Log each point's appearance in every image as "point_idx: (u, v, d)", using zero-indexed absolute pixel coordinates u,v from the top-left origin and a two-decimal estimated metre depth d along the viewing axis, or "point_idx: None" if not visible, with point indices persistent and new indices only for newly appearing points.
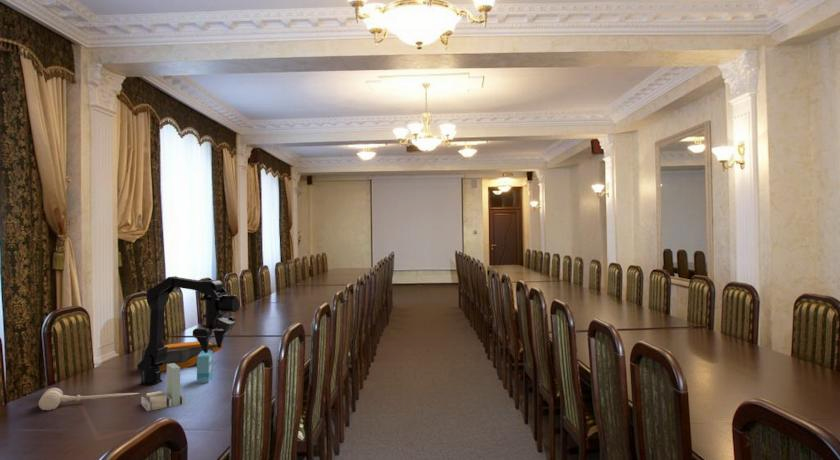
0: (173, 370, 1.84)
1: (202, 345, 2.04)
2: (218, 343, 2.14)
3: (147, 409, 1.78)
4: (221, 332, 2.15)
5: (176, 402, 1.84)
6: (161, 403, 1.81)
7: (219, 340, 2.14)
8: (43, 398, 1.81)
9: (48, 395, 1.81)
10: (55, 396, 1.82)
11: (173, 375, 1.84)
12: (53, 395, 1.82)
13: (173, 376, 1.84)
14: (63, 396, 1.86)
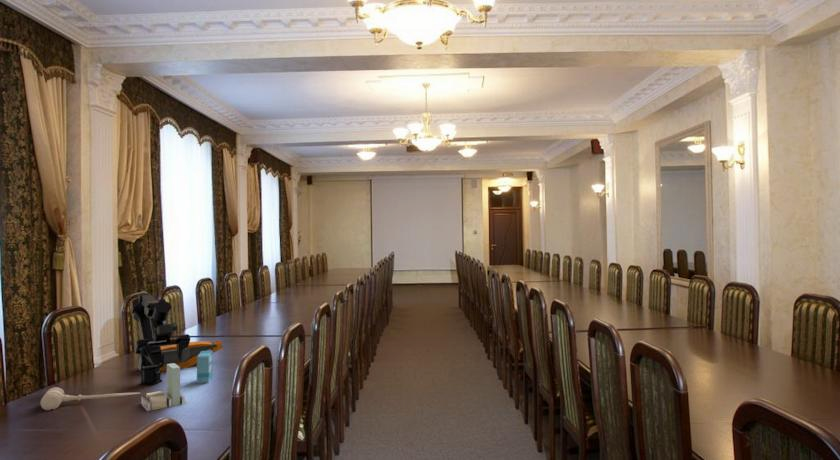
0: (173, 370, 1.84)
1: (148, 359, 1.93)
2: (178, 356, 1.99)
3: (147, 409, 1.78)
4: (178, 345, 2.01)
5: (176, 402, 1.84)
6: (161, 403, 1.81)
7: (178, 353, 1.99)
8: (45, 398, 1.81)
9: (50, 395, 1.82)
10: (57, 396, 1.83)
11: (173, 375, 1.84)
12: (55, 395, 1.82)
13: (173, 376, 1.84)
14: (65, 396, 1.87)
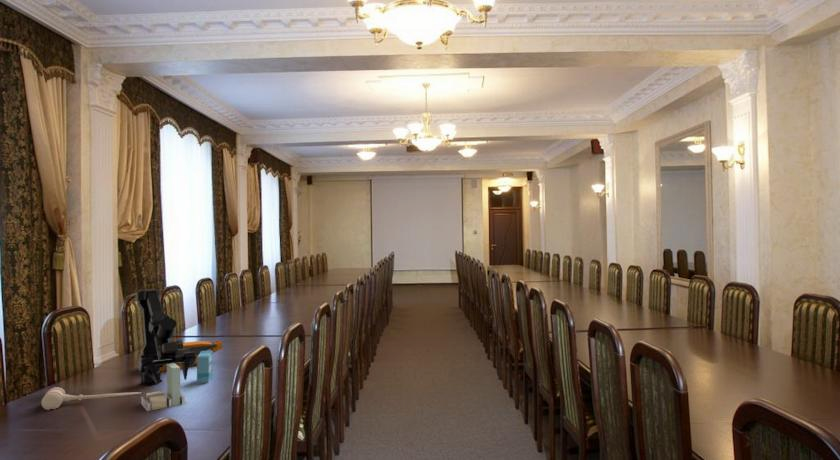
0: (173, 370, 1.84)
1: (153, 378, 1.87)
2: (184, 375, 1.93)
3: (147, 409, 1.78)
4: (184, 363, 1.95)
5: (176, 402, 1.84)
6: (161, 403, 1.81)
7: (184, 372, 1.93)
8: (46, 397, 1.81)
9: (51, 394, 1.82)
10: (58, 395, 1.83)
11: (173, 375, 1.84)
12: (56, 394, 1.83)
13: (173, 376, 1.84)
14: (65, 395, 1.87)
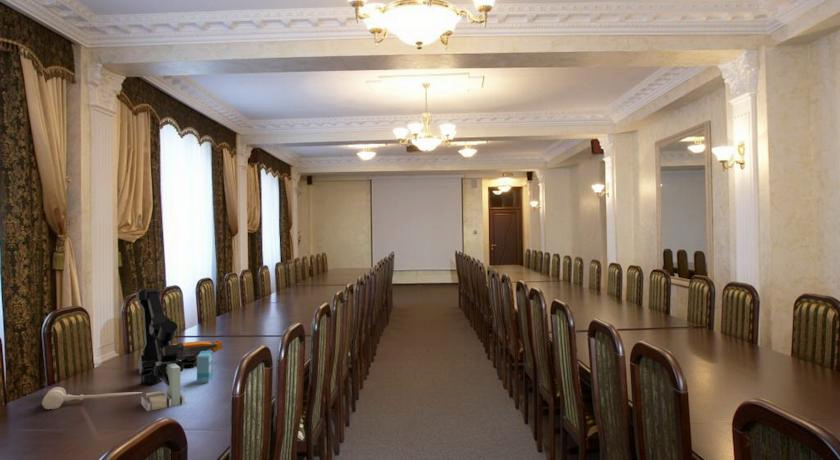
0: (173, 370, 1.84)
1: (163, 379, 1.89)
2: None
3: (147, 409, 1.78)
4: None
5: (176, 402, 1.84)
6: (161, 403, 1.81)
7: None
8: (47, 397, 1.81)
9: (52, 394, 1.82)
10: (58, 395, 1.83)
11: (173, 375, 1.84)
12: (56, 394, 1.83)
13: (173, 376, 1.84)
14: (66, 395, 1.87)
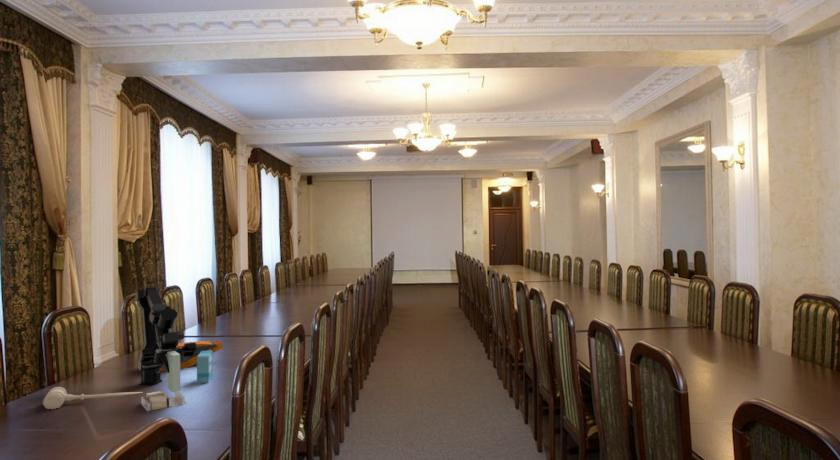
0: (173, 357, 1.84)
1: (163, 367, 1.89)
2: None
3: (147, 409, 1.78)
4: None
5: (176, 389, 1.84)
6: (161, 403, 1.81)
7: None
8: (47, 397, 1.82)
9: (52, 394, 1.82)
10: (59, 395, 1.83)
11: (173, 362, 1.84)
12: (57, 394, 1.83)
13: (173, 363, 1.84)
14: (67, 395, 1.88)
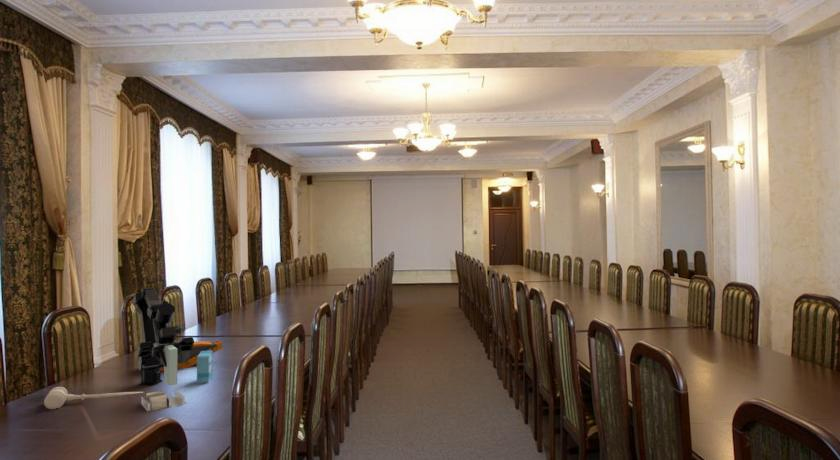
0: (170, 351, 1.87)
1: (161, 361, 1.91)
2: None
3: (147, 409, 1.78)
4: None
5: (173, 382, 1.87)
6: (161, 403, 1.81)
7: None
8: (48, 397, 1.82)
9: (53, 394, 1.83)
10: (60, 395, 1.84)
11: (170, 356, 1.87)
12: (58, 394, 1.83)
13: (170, 357, 1.87)
14: (68, 395, 1.88)
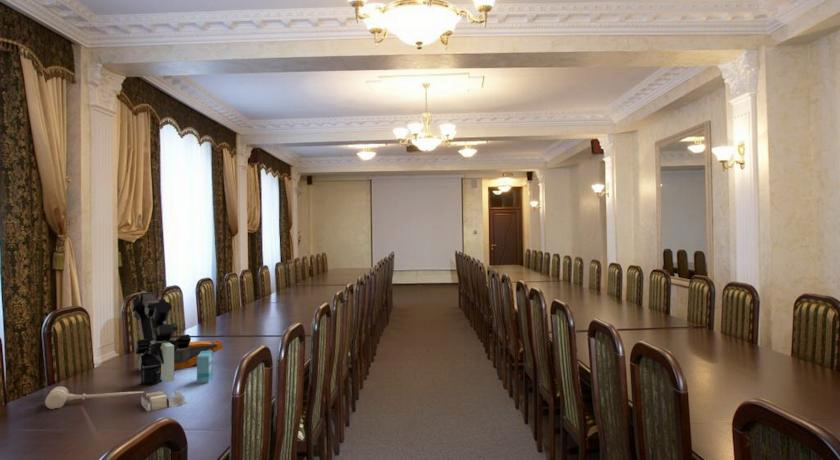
0: (167, 348, 1.90)
1: (158, 358, 1.95)
2: None
3: (147, 409, 1.78)
4: None
5: (170, 379, 1.91)
6: (161, 403, 1.81)
7: None
8: (49, 397, 1.82)
9: (54, 394, 1.83)
10: (61, 395, 1.84)
11: (167, 353, 1.90)
12: (59, 394, 1.84)
13: (167, 354, 1.90)
14: (69, 395, 1.88)
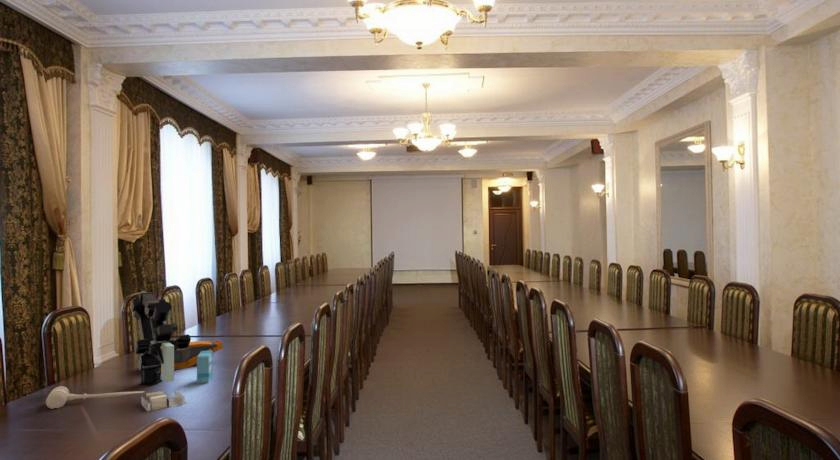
0: (167, 348, 1.90)
1: (158, 358, 1.95)
2: None
3: (147, 409, 1.78)
4: None
5: (170, 379, 1.91)
6: (161, 403, 1.81)
7: None
8: (50, 396, 1.82)
9: (55, 394, 1.83)
10: (62, 395, 1.84)
11: (167, 353, 1.90)
12: (60, 394, 1.84)
13: (167, 354, 1.90)
14: (70, 394, 1.88)
